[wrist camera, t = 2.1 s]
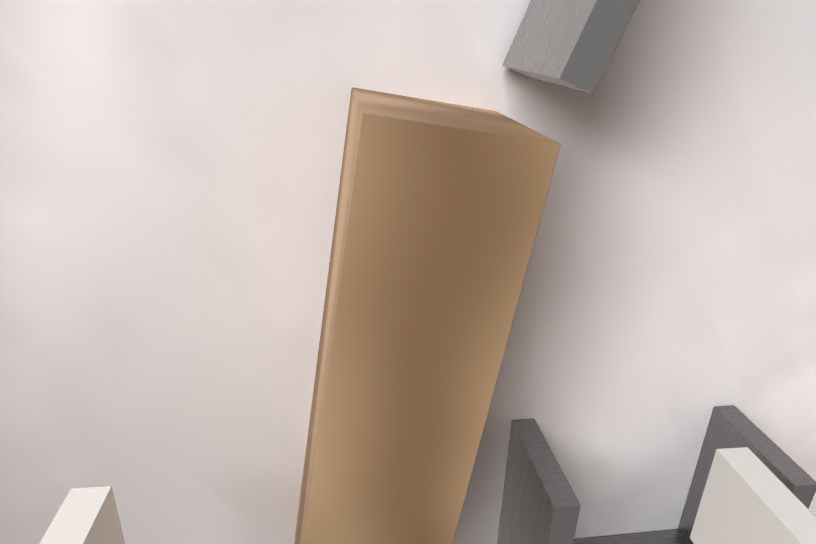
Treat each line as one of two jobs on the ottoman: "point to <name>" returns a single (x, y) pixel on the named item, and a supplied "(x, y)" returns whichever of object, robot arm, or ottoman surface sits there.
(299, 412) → the ottoman surface
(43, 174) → the ottoman surface
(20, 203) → the ottoman surface
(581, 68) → the cap
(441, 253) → the slat
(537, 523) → the cap
